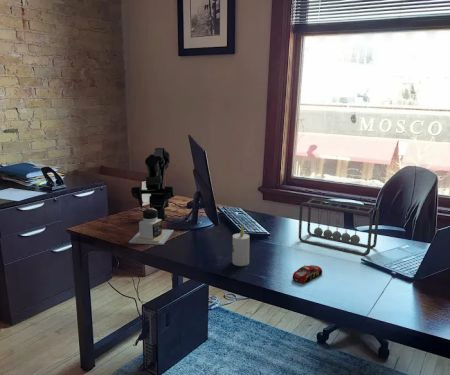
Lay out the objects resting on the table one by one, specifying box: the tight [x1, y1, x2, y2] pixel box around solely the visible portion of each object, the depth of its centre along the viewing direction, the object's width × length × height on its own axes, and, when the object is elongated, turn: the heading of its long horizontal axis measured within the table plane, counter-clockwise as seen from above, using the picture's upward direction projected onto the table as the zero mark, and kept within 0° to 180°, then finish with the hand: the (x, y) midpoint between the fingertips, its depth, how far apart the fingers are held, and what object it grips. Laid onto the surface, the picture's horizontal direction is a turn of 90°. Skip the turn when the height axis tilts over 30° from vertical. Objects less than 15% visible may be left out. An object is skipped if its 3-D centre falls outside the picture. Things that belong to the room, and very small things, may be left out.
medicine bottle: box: [138, 208, 163, 240], centre depth 173 cm, size 7×7×12 cm
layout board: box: [128, 228, 174, 246], centre depth 177 cm, size 17×15×1 cm
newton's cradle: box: [298, 197, 380, 257], centre depth 166 cm, size 30×10×18 cm, turn 55°
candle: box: [231, 224, 251, 267], centre depth 149 cm, size 6×6×15 cm
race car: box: [292, 264, 323, 284], centre depth 139 cm, size 13×5×4 cm, turn 133°
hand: (151, 208), depth 177 cm, fingers open, 9 cm apart
